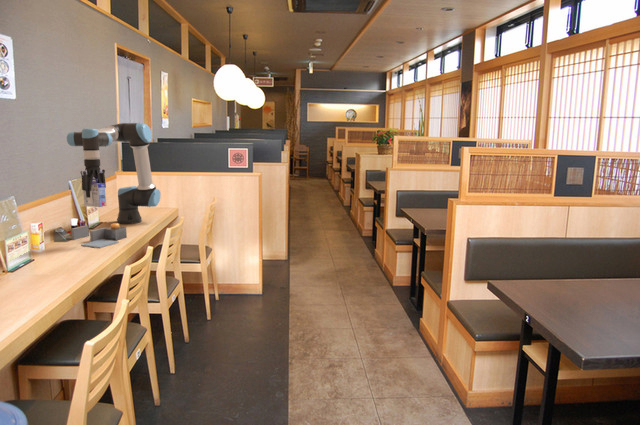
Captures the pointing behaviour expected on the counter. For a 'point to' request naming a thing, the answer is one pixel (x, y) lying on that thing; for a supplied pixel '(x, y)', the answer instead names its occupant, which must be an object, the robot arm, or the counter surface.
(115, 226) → the plunger
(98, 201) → the ink cartridge box
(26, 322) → the counter surface
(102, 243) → the rubber mat
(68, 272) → the counter surface
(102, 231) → the cartridge holder
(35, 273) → the counter surface
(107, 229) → the block
